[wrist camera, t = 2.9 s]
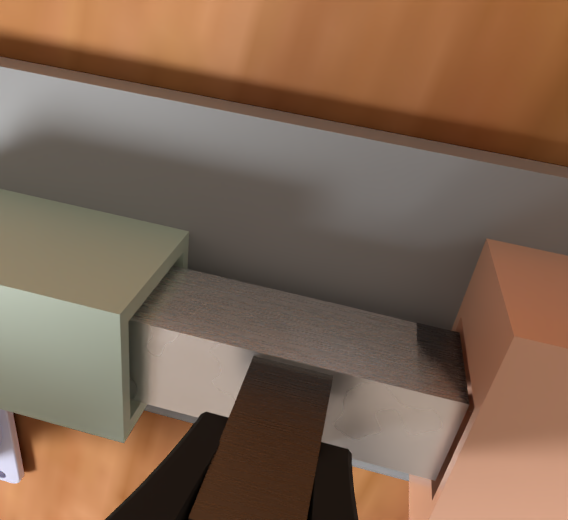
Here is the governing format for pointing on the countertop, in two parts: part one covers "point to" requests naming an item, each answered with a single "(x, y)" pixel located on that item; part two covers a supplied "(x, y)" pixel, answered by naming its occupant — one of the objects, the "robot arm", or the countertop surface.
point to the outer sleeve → (75, 309)
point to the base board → (279, 191)
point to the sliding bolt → (293, 387)
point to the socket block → (508, 395)
